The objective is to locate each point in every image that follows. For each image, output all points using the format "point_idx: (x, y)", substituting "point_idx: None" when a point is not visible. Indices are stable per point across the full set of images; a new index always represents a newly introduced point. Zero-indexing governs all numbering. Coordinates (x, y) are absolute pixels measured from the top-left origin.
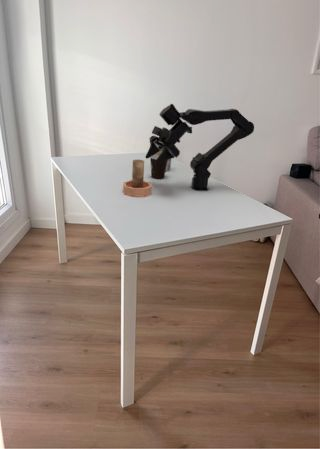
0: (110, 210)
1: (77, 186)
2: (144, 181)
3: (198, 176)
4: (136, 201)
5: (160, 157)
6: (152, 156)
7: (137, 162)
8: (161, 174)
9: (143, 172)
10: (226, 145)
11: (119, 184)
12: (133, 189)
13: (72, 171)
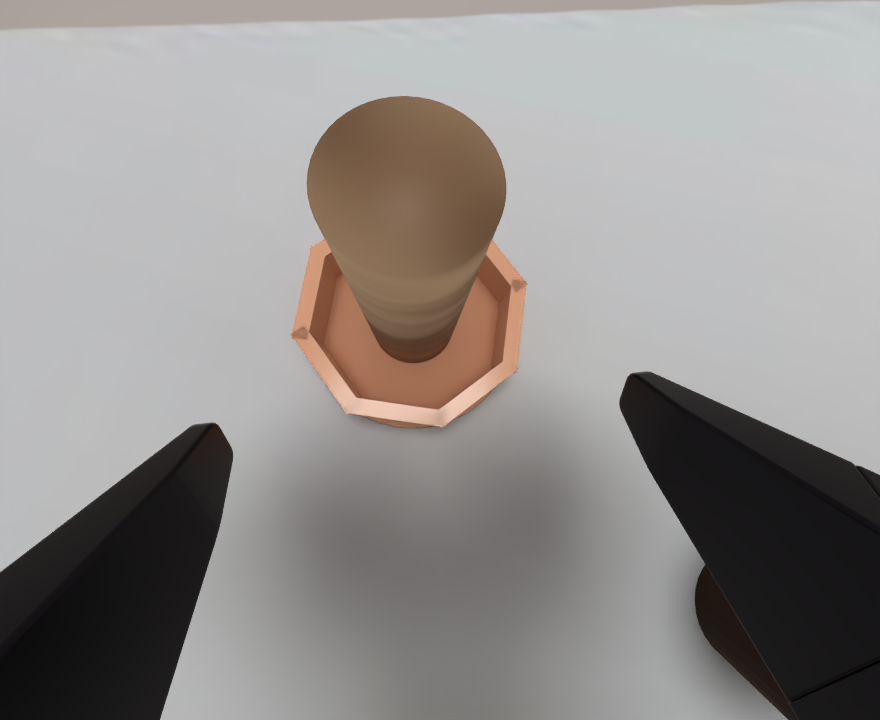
0: (144, 94)
1: (565, 17)
2: (479, 388)
3: None
4: (241, 270)
5: (12, 589)
6: None
7: (320, 139)
8: (730, 645)
9: (369, 312)
10: None
11: (584, 252)
12: (312, 249)
13: (852, 41)
